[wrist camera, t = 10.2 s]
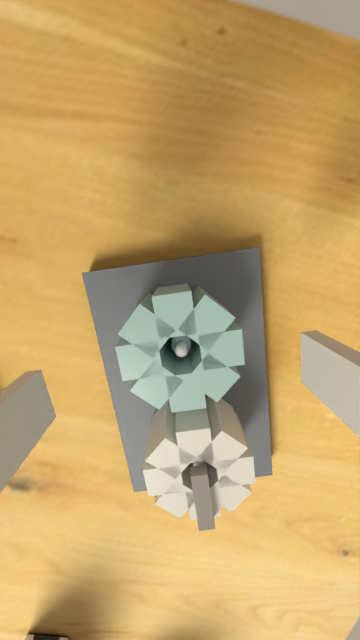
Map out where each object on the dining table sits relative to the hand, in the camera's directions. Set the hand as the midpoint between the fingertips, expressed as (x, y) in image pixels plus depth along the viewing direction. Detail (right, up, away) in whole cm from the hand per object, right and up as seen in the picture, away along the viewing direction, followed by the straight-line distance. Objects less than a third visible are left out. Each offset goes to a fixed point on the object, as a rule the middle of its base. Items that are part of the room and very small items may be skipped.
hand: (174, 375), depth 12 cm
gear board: (+1, -3, +11) cm, 11 cm away
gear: (+2, -7, +10) cm, 13 cm away
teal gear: (0, +2, +8) cm, 8 cm away
